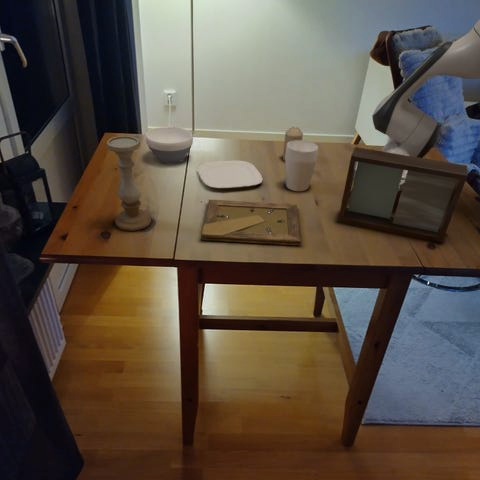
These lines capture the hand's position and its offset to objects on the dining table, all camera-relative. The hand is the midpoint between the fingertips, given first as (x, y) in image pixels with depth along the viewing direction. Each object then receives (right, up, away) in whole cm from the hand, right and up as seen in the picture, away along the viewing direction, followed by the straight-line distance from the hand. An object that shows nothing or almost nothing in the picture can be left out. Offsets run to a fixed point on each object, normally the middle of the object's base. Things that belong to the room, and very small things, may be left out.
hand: (387, 188), depth 117 cm
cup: (-21, +6, +18) cm, 28 cm away
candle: (-21, +19, +33) cm, 44 cm away
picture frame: (-35, -9, +1) cm, 36 cm away
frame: (+1, -9, +2) cm, 10 cm away
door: (-3, -5, +5) cm, 7 cm away
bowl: (-60, +18, +30) cm, 69 cm away
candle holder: (-65, -9, -1) cm, 65 cm away
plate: (-41, +9, +21) cm, 47 cm away
